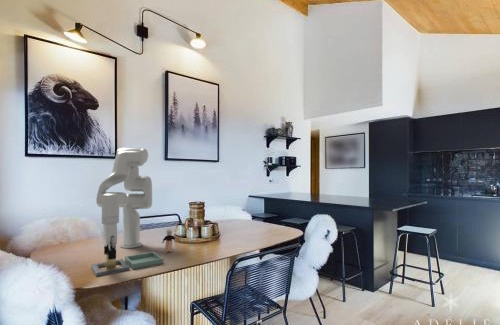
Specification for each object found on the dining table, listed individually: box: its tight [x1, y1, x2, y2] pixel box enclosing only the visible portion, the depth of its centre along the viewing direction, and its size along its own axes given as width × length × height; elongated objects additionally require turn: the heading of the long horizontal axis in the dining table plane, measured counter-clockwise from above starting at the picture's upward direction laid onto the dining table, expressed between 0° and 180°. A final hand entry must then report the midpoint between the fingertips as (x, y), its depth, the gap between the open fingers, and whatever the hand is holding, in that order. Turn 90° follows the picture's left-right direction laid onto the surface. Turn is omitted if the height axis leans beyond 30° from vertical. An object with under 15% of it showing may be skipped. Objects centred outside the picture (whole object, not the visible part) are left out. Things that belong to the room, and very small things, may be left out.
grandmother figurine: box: [161, 229, 177, 253], centre depth 168 cm, size 8×4×13 cm, turn 126°
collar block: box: [90, 258, 131, 277], centre depth 140 cm, size 14×14×2 cm
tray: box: [124, 251, 164, 271], centre depth 149 cm, size 15×15×2 cm
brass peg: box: [104, 253, 117, 270], centre depth 140 cm, size 4×4×7 cm
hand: (109, 256), depth 140 cm, fingers open, 9 cm apart
